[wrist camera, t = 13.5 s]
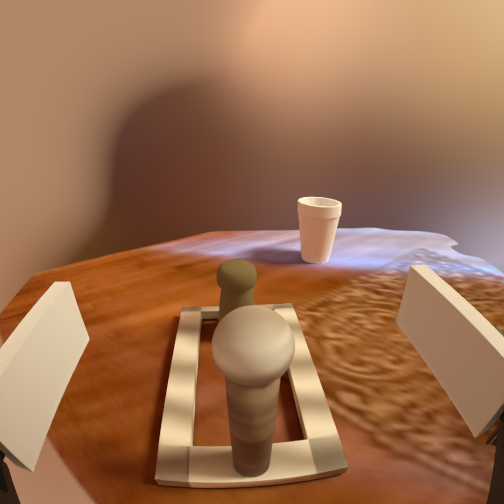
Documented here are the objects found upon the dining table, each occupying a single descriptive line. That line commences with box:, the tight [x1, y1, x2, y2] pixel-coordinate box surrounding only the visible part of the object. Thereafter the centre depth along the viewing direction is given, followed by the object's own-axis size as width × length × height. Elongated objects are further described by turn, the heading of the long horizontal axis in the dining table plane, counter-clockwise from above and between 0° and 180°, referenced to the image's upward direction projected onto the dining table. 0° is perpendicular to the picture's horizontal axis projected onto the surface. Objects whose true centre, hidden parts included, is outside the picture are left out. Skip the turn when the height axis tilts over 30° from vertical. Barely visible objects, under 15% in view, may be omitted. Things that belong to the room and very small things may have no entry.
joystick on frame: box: [155, 304, 349, 488], centre depth 29 cm, size 28×17×18 cm, turn 5°
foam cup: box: [298, 197, 342, 264], centre depth 64 cm, size 10×9×13 cm
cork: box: [216, 259, 257, 324], centre depth 40 cm, size 6×6×11 cm
